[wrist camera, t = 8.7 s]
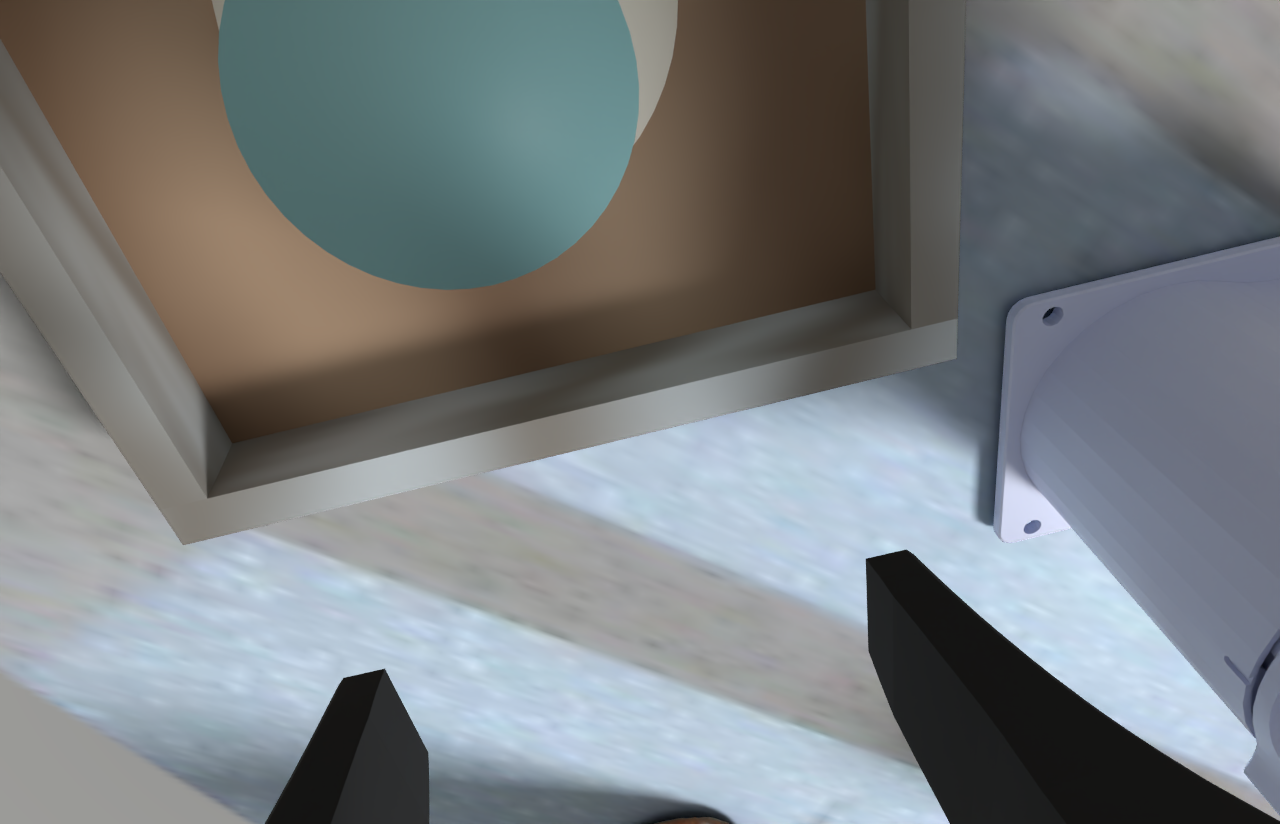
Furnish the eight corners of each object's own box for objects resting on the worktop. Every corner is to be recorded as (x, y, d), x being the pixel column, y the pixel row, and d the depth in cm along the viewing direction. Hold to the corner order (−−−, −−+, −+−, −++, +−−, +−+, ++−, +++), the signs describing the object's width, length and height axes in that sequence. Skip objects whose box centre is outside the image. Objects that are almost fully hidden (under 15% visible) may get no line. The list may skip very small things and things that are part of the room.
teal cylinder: (559, -166, 14) (596, -185, 9) (615, 130, 16) (667, 246, 11) (268, -103, 14) (135, -88, 9) (371, 184, 16) (316, 324, 11)
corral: (889, -836, 11) (993, -1022, 9) (904, 303, 21) (956, 358, 18) (-393, -559, 11) (-635, -674, 9) (218, 467, 20) (183, 545, 18)
